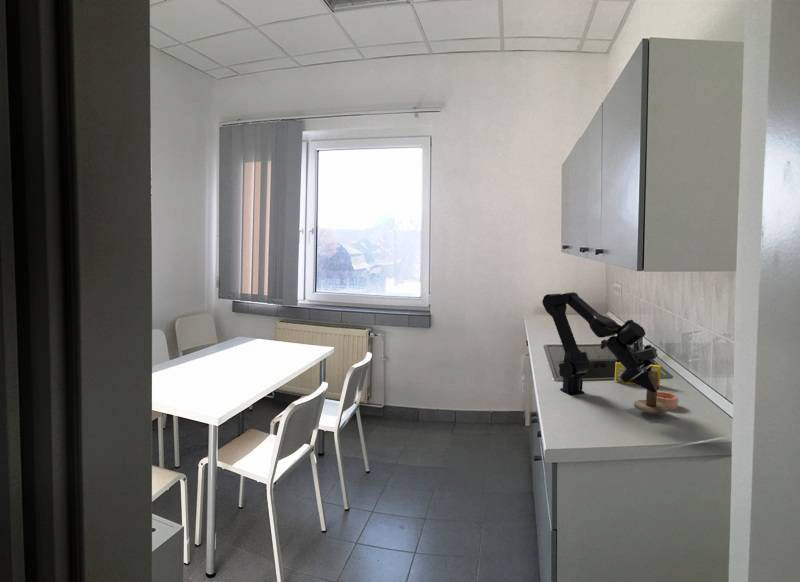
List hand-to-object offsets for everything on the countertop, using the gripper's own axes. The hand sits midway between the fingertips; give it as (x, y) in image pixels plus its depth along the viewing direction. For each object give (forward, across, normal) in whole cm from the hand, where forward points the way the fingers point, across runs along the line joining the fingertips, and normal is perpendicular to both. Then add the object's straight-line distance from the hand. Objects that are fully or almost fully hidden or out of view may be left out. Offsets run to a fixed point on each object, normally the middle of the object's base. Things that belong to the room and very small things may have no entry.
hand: (656, 390), depth 150 cm
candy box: (-4, +33, +17) cm, 37 cm away
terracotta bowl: (+6, +12, +6) cm, 15 cm away
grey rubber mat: (+5, 0, +7) cm, 9 cm away
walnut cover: (+3, 0, +5) cm, 6 cm away
